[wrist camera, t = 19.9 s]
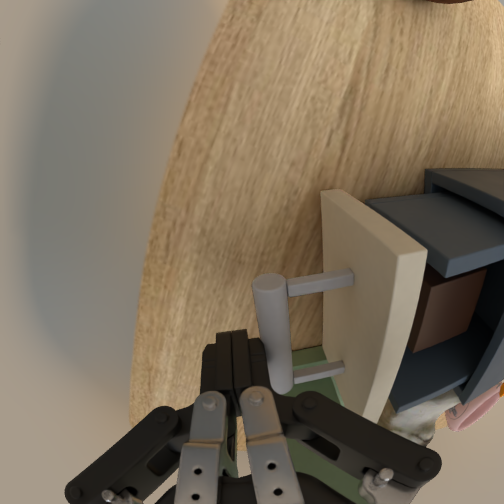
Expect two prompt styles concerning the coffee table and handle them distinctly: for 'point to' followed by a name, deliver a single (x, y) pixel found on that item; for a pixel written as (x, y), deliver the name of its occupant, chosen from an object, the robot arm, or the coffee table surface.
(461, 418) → the mug
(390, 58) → the coffee table surface
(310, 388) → the stand
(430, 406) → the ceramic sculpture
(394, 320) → the drawer
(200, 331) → the coffee table surface
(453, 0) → the wooden figurine
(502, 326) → the cabinet
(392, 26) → the coffee table surface
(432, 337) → the block
